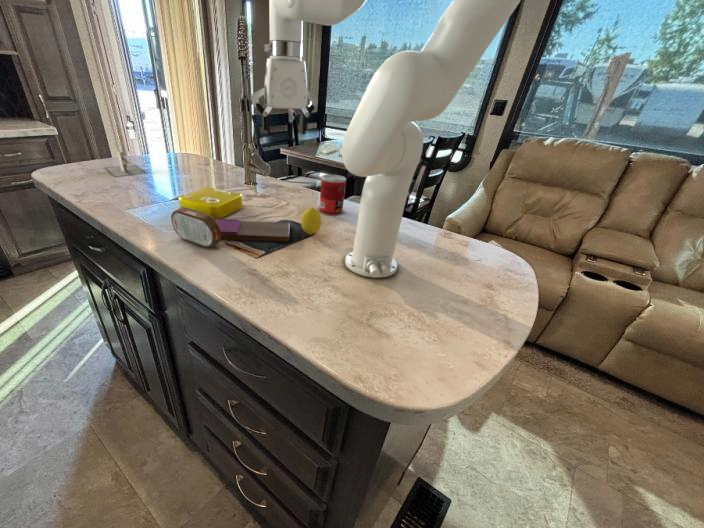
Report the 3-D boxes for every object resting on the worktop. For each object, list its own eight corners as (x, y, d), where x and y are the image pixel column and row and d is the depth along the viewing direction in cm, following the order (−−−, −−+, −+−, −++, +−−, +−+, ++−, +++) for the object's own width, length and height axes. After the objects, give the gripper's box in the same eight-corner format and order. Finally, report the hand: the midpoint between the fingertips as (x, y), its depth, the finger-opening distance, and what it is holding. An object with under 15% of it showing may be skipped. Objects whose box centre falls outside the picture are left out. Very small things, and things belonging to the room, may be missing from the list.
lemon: (318, 240, 90) (320, 212, 86) (298, 237, 91) (299, 209, 87) (321, 232, 95) (323, 205, 90) (302, 230, 96) (304, 203, 91)
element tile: (244, 207, 109) (244, 192, 107) (217, 221, 98) (215, 205, 95) (208, 199, 114) (206, 185, 111) (178, 211, 103) (175, 196, 100)
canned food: (339, 216, 107) (343, 182, 100) (316, 212, 109) (318, 178, 102) (344, 209, 113) (348, 176, 106) (322, 205, 115) (325, 173, 108)
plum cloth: (236, 234, 87) (236, 232, 87) (210, 233, 87) (210, 231, 87) (241, 221, 95) (241, 219, 94) (216, 220, 94) (216, 218, 94)
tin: (223, 248, 83) (220, 216, 78) (214, 252, 81) (211, 220, 76) (181, 233, 89) (176, 203, 84) (172, 237, 87) (166, 206, 82)
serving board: (289, 241, 88) (289, 236, 88) (206, 239, 87) (206, 233, 86) (289, 227, 97) (289, 222, 96) (214, 224, 95) (213, 219, 95)
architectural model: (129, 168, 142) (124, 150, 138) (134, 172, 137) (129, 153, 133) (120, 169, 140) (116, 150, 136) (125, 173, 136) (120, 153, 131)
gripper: (252, 48, 71) (255, 135, 81) (325, 54, 76) (320, 135, 86) (246, 50, 77) (249, 131, 86) (314, 55, 82) (310, 131, 92)
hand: (284, 133), depth 86 cm, fingers open, 9 cm apart
